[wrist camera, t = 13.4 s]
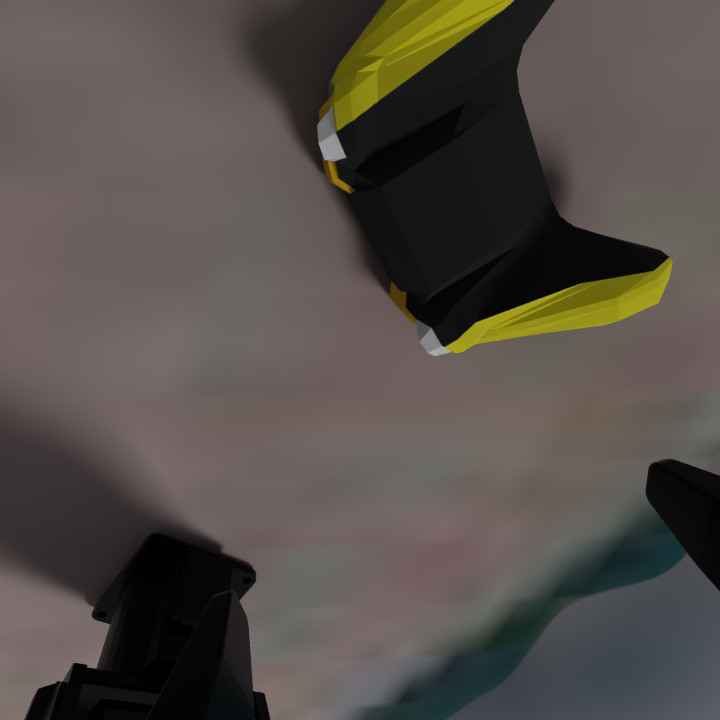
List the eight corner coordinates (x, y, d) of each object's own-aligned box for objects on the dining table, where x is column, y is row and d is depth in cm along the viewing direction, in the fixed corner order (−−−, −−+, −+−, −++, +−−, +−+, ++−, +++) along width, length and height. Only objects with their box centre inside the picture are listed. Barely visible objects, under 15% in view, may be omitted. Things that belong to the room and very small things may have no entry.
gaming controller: (504, -99, 16) (258, 56, 16) (614, -208, 11) (257, 17, 11) (601, 269, 23) (426, 370, 23) (695, 303, 18) (471, 431, 18)
